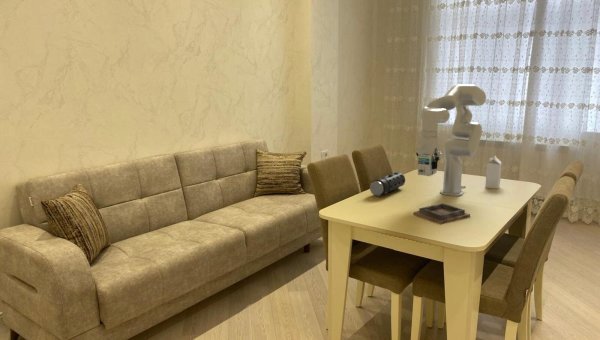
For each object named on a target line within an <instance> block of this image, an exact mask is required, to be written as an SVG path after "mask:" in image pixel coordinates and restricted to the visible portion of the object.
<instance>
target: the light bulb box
mask: <svg viewBox="0 0 600 340" xmlns="http://www.w3.org/2000/svg"><path fill="white" fill-rule="evenodd" d="M434 158H435V157H434ZM417 161H418V162H417V175H418V176H426V177H431V176H433V175H435V174H437V169H438V168H437V169H432V162H433V159H432V156H431V155H427V154H419V158H417Z"/></svg>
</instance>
